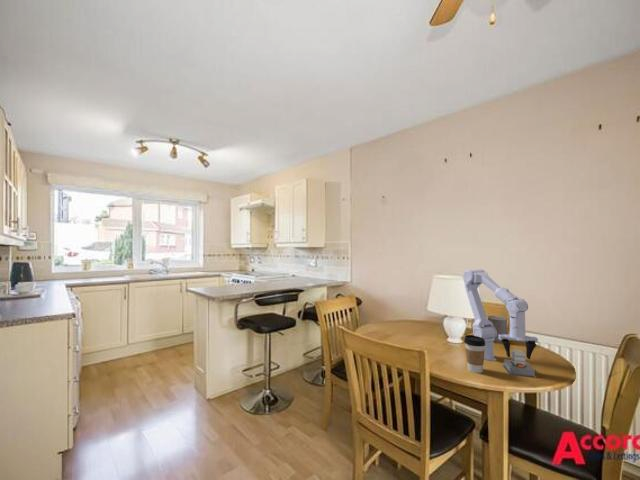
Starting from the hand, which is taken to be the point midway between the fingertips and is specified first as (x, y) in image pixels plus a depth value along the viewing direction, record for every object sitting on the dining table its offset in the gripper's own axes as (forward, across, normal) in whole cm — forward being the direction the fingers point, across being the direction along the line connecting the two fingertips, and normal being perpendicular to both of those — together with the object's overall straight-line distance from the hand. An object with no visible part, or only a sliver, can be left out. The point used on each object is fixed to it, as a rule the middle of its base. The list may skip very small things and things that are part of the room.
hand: (518, 357), depth 127 cm
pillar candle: (+7, +3, +44) cm, 45 cm away
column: (+4, 0, 0) cm, 4 cm away
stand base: (+6, 0, 0) cm, 6 cm away
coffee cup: (+7, -18, -4) cm, 20 cm away
